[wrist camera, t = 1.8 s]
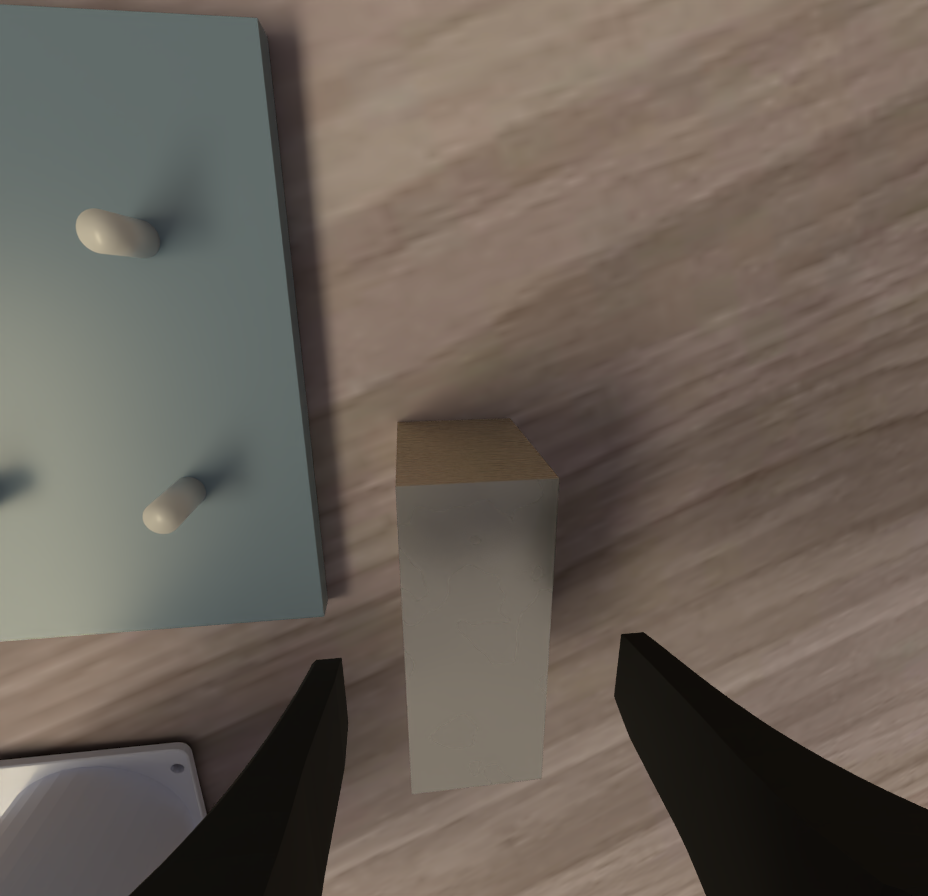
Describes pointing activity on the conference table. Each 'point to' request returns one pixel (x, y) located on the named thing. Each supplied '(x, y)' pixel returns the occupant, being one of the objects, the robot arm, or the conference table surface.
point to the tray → (147, 331)
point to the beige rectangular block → (474, 599)
